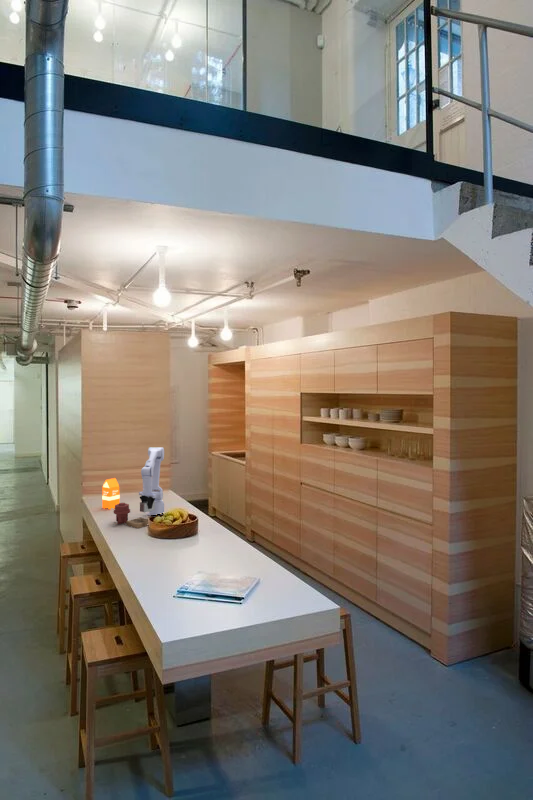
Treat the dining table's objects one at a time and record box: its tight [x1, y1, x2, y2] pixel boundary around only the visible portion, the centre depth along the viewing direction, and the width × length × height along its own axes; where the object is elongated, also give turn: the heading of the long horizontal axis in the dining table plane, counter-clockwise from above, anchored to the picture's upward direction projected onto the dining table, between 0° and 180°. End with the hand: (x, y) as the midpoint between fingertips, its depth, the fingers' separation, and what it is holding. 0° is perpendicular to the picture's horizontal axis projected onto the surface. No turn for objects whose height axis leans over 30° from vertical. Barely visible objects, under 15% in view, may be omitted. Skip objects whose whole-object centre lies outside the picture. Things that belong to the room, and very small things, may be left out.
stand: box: [125, 517, 149, 529], centre depth 320 cm, size 11×11×2 cm
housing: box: [139, 501, 155, 513], centre depth 326 cm, size 8×4×6 cm, turn 141°
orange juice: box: [101, 477, 121, 510], centre depth 364 cm, size 8×9×20 cm
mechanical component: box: [113, 502, 131, 525], centre depth 324 cm, size 12×10×10 cm
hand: (147, 508), depth 326 cm, fingers closed on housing, 4 cm apart
